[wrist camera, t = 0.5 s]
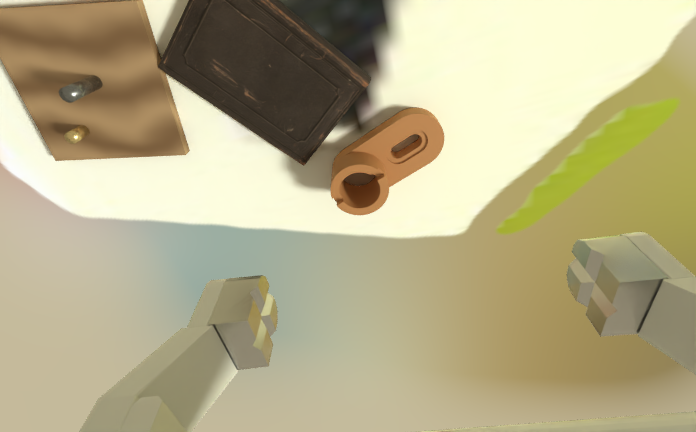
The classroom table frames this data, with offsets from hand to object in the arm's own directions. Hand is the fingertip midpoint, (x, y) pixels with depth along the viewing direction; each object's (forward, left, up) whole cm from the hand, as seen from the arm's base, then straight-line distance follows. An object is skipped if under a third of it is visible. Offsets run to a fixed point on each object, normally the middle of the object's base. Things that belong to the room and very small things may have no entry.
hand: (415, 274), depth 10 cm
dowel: (+11, -41, -43) cm, 60 cm away
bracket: (+17, +3, -45) cm, 49 cm away
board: (+5, -37, -45) cm, 58 cm away
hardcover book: (+4, -13, -46) cm, 48 cm away
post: (+4, -36, -44) cm, 57 cm away
